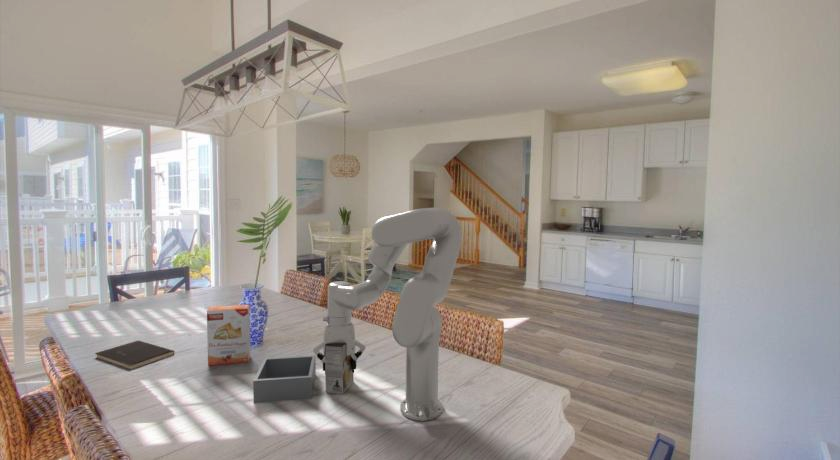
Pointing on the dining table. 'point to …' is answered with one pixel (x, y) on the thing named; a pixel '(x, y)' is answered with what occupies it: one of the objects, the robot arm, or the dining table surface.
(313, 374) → the bin
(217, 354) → the cracker box
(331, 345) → the coffee box
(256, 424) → the dining table surface
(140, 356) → the hardcover book
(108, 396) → the dining table surface
